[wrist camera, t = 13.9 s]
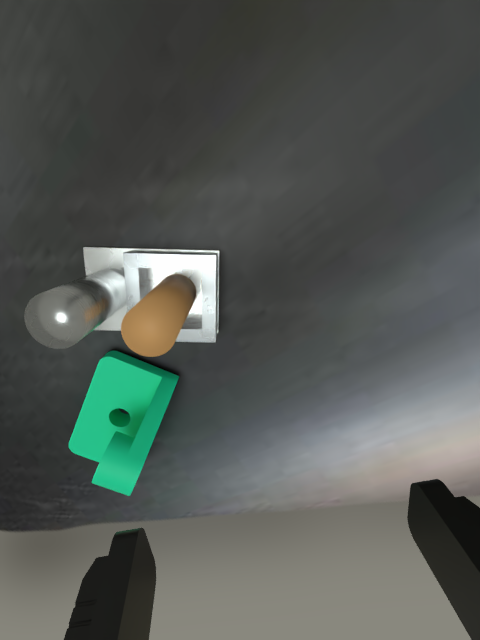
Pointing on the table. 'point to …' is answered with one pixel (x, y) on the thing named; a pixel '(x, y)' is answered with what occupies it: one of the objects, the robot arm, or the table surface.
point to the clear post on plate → (124, 294)
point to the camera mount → (121, 418)
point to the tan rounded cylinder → (159, 316)
